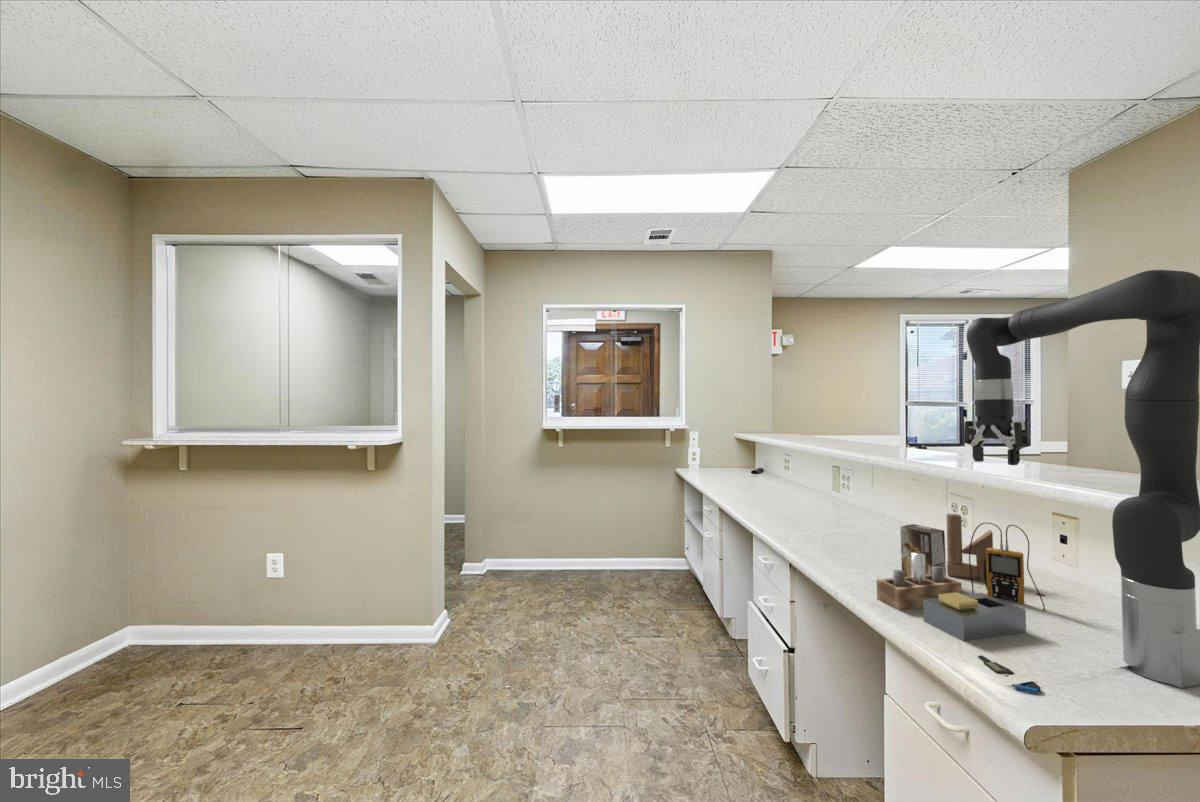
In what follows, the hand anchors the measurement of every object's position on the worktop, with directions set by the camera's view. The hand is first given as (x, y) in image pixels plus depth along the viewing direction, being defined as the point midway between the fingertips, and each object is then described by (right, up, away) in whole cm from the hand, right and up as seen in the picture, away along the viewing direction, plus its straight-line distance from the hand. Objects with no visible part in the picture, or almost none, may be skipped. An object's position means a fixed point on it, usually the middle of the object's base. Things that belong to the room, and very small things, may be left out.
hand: (995, 463), depth 122 cm
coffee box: (-7, -37, +16) cm, 41 cm away
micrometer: (-22, -37, -30) cm, 52 cm away
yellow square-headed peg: (-18, -35, -13) cm, 41 cm away
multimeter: (+3, -36, +1) cm, 37 cm away
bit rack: (-17, -36, +3) cm, 40 cm away
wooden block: (+10, -37, +22) cm, 44 cm away
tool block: (-14, -36, -12) cm, 41 cm away
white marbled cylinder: (-17, -35, +3) cm, 39 cm away
